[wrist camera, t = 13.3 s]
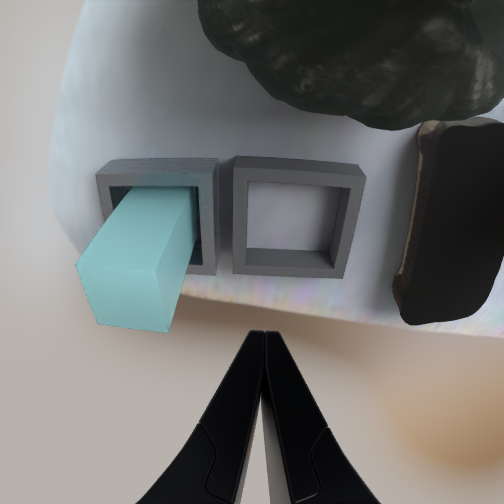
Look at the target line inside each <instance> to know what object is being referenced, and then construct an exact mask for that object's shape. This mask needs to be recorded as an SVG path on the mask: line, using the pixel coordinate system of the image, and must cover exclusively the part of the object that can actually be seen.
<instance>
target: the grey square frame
mask: <svg viewBox="0 0 504 504" xmlns="http://www.w3.org/2000/svg"><path fill="white" fill-rule="evenodd" d="M248 181H257V182H276V183H292V184H307V185H320V186H332V187H342V189H341V194H340V200H339V206H338V211H337V216H336V222H335V227H334V232H333V237H332V242H331V247H330V252H321V251H301V250H281V249H261V248H246V245H247V212H248ZM365 181H366V176H365V175H364V173H363V172H362V170H361V169H360V167H359V166H358V165H355V164H346V163H336V162H326V161H315V160H302V159H288V158H272V157H252V156H236V158H235V162H234V166H233V274H245V275H265V276H287V277H311V278H337V279H343V276H344V272H345V268H346V264H347V260H348V257H349V253H350V248H351V244H352V240H353V236H354V232H355V228H356V223H357V219H358V214H359V210H360V205H361V200H362V196H363V191H364V186H365Z"/></svg>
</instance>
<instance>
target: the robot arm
mask: <svg viewBox="0 0 504 504" xmlns="http://www.w3.org/2000/svg"><path fill="white" fill-rule="evenodd" d="M260 397H261V410H262V421H263V431H264V441H265V452H266V463H267V473H268V483H269V493H270V504H381V503H380V502H379V501H378V500H377V498H376V497H375V496H374V495H373V493H372V492H371V491H370V489H369V488H368V487H367V485H366V484H365V483H364V481H363V480H362V478H361V477H360V476H359V474H358V473H357V472H356V470H355V469H354V468H353V466H352V465H351V464H350V462H349V460H348V459H347V457H346V456H345V455H344V453H343V451H342V449H341V448H340V446H339V444H338V443H337V441H336V439H335V437H334V436H333V434H332V432H331V430H330V428H327V427H328V425H327V422H326V421H325V419H324V417H323V415H322V413H321V411H320V409H319V407H318V406H317V403H316V401H315V399H314V398H313V396H312V394H311V392H310V390H309V388H308V386H307V384H306V382H305V380H304V378H303V377H302V375H301V373H300V371H299V369H298V367H297V365H296V363H295V361H294V359H293V357H292V355H291V353H290V351H289V350H288V347H287V346H286V344H285V342H284V340H283V338H282V336H281V334H280V333H279V332H278V331H265V333H264V331H262V330H250V331H249V332H248V334H247V336H246V338H245V340H244V342H243V343H242V345H241V347H240V349H239V351H238V353H237V354H236V356H235V358H234V360H233V362H232V364H231V366H230V367H229V369H228V371H227V373H226V374H225V376H224V378H223V380H222V382H221V383H220V385H219V387H218V389H217V390H216V393H215V394H214V396H213V398H212V399H211V401H210V403H209V405H208V406H207V408H206V410H205V412H204V413H203V415H202V417H201V419H200V420H199V423H198V424H197V425H196V427H195V429H194V431H193V432H192V434H191V435H190V437H189V439H188V440H187V442H186V443H185V445H184V446H183V448H182V449H181V451H180V452H179V453H178V455H177V456H176V457H175V459H174V460H173V461H172V463H171V464H170V465H169V467H168V468H167V469H166V470H165V471H164V472H163V474H162V475H161V476H160V477H159V478H158V480H157V481H156V482H155V483H154V484H153V486H152V487H151V488H150V489H149V490H148V491H147V493H146V494H145V495H144V496H143V497H142V498H141V499H140V500H139V501H138V502H137V503H135V504H240V501H241V497H242V491H243V487H244V482H245V477H246V472H247V467H248V462H249V457H250V452H251V447H252V442H253V437H254V431H255V426H256V421H257V416H258V410H259V403H260Z"/></svg>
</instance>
